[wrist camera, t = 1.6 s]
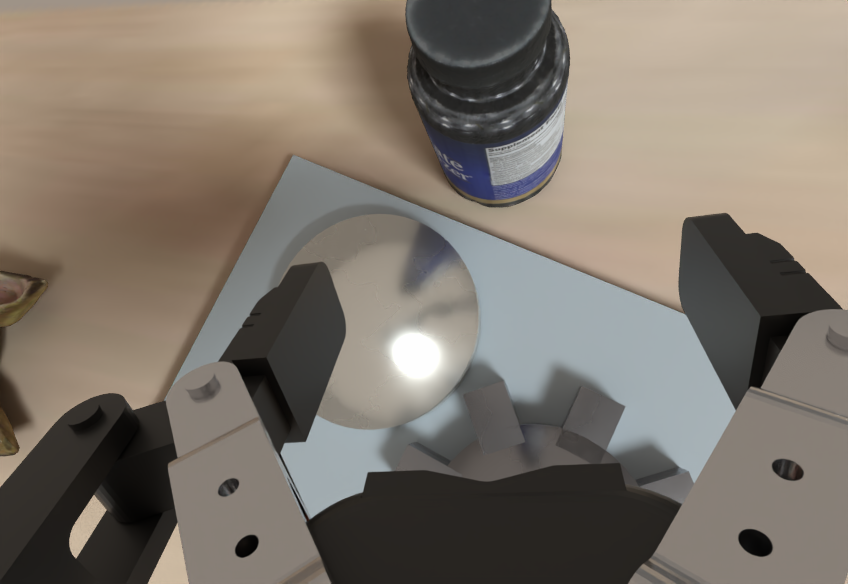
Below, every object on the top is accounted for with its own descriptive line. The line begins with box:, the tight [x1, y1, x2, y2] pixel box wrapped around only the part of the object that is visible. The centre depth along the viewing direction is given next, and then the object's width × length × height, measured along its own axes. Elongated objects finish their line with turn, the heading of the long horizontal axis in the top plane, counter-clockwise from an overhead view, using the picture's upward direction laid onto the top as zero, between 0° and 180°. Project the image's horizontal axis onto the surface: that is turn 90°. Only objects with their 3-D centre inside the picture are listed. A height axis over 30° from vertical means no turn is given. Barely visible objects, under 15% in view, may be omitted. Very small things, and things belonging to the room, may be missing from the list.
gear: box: [395, 381, 694, 504], centre depth 20 cm, size 13×13×3 cm
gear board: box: [164, 155, 736, 518], centre depth 25 cm, size 24×17×2 cm
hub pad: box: [278, 214, 481, 430], centre depth 25 cm, size 10×10×1 cm
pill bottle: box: [405, 0, 570, 207], centre depth 22 cm, size 6×6×11 cm
